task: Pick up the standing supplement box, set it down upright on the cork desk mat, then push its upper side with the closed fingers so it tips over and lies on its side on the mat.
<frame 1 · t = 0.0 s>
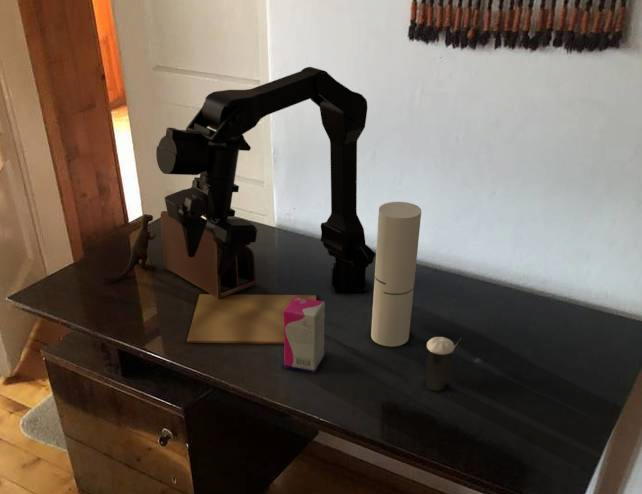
hand: (205, 265, 128), 15 cm above the table, tool pointing down, fingers open, 9 cm apart
dinosaur model: (132, 274, 159), on the table
supplement box: (304, 362, 132), on the table
cylindrical container: (389, 337, 139), on the table
desk mat: (254, 318, 144), on the table
letter holder: (209, 277, 158), on the table, touching desk mat
milkshake: (437, 386, 126), on the table
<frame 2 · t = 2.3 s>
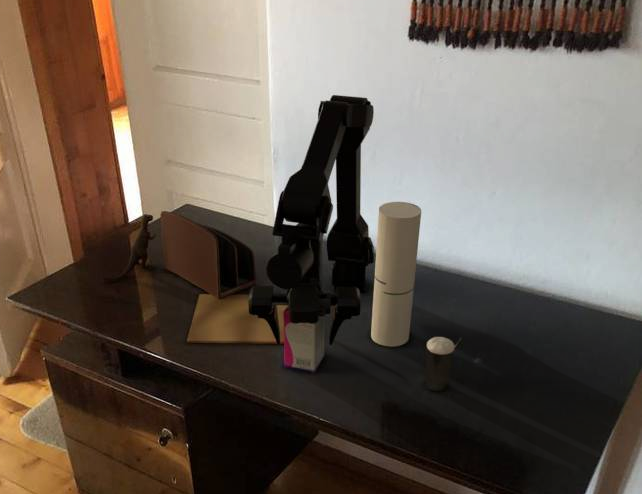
hand: (304, 343, 129), 4 cm above the table, tool pointing down
supplement box: (304, 363, 132), on the table, touching gripper
everything else where it was.
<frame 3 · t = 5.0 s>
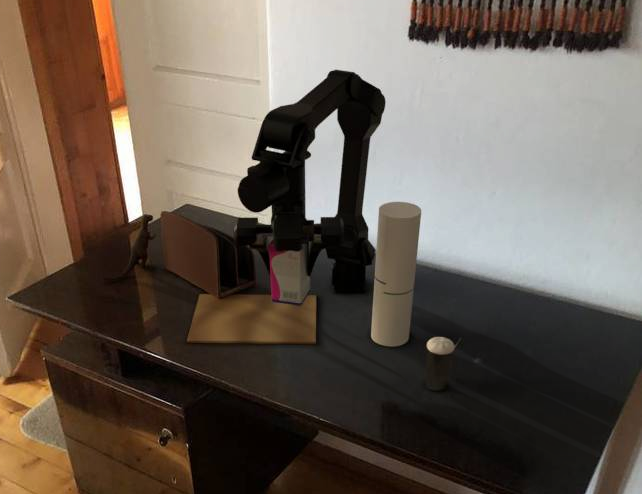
hand: (290, 275, 131), 13 cm above the table, tool pointing down, fingers closed on supplement box, 6 cm apart
supplement box: (290, 297, 134), point 8 cm above the table, touching gripper
everything else where it was.
when the fingers open (5 cm above the table, at t = 7.8 s): supplement box stays where it is, resting on desk mat.
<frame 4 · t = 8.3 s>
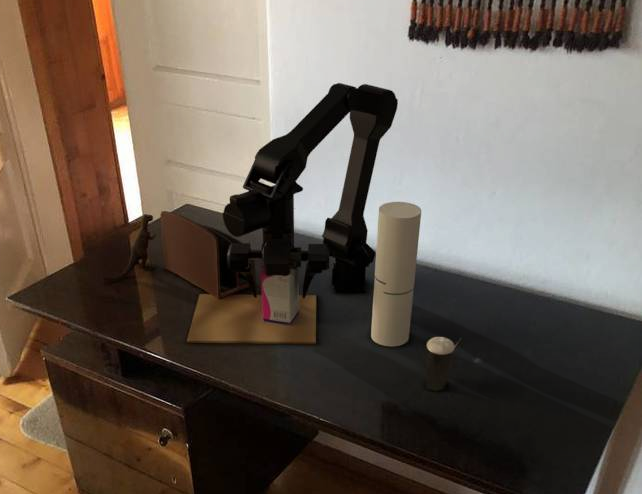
hand: (279, 297, 141), 5 cm above the table, tool pointing down, fingers open, 9 cm apart
supplement box: (281, 316, 144), resting on desk mat
everything else where it was.
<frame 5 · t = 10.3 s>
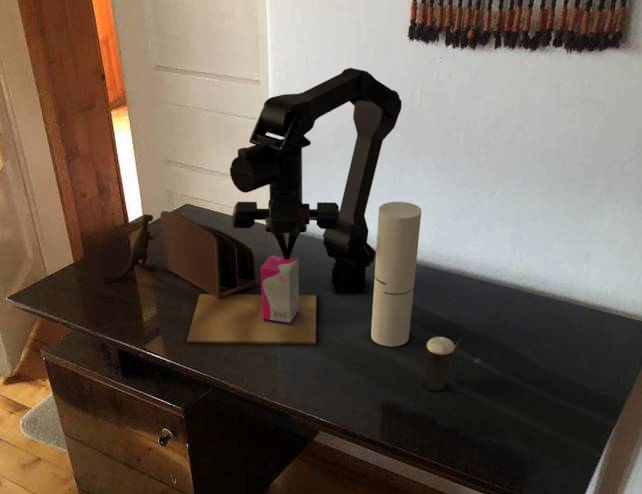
hand: (287, 258, 136), 13 cm above the table, tool pointing down, fingers closed
nothing on the table moved.
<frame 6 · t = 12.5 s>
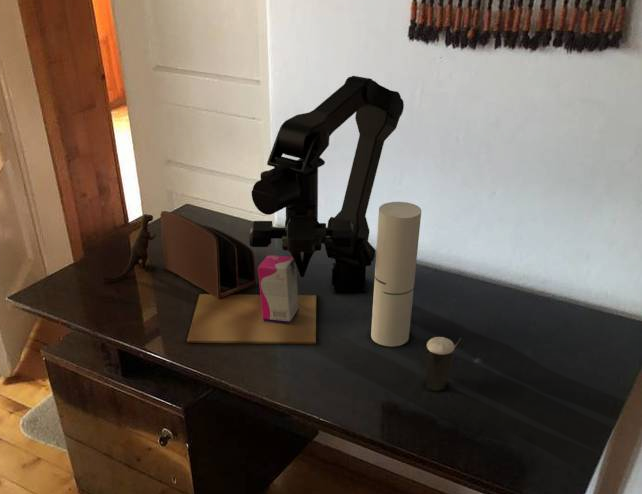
hand: (302, 276, 138), 9 cm above the table, tool pointing down, fingers closed
supplement box: (281, 316, 144), resting on desk mat, touching gripper
everything else where it was.
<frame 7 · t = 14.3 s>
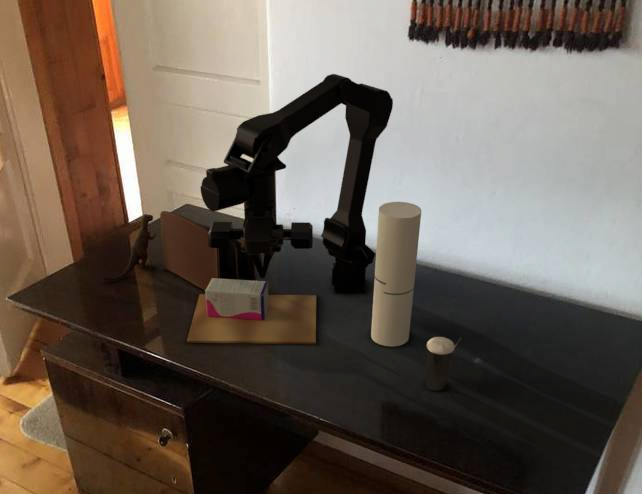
hand: (262, 277, 138), 9 cm above the table, tool pointing down, fingers closed
supplement box: (267, 300, 143), point 3 cm above the table, touching desk mat
everything else where it was.
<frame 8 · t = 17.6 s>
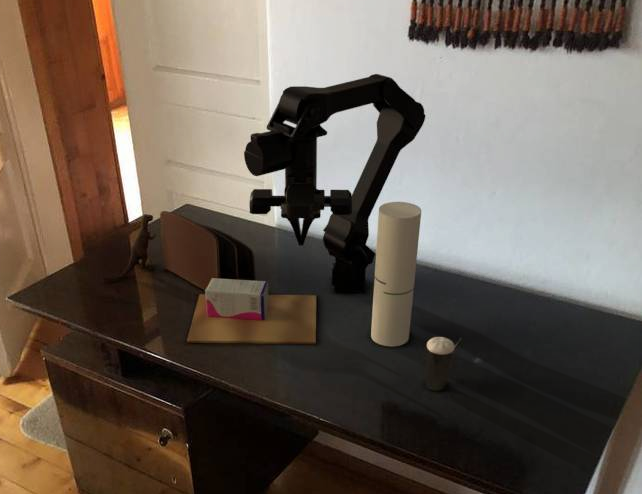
hand: (301, 244, 141), 13 cm above the table, tool pointing down, fingers closed
nothing on the table moved.
at the end: supplement box tilted 90°; supplement box inside the target area on the desk mat (3.2 cm from its centre), point 3.3 cm above the desk mat's base; the gripper is holding nothing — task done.
